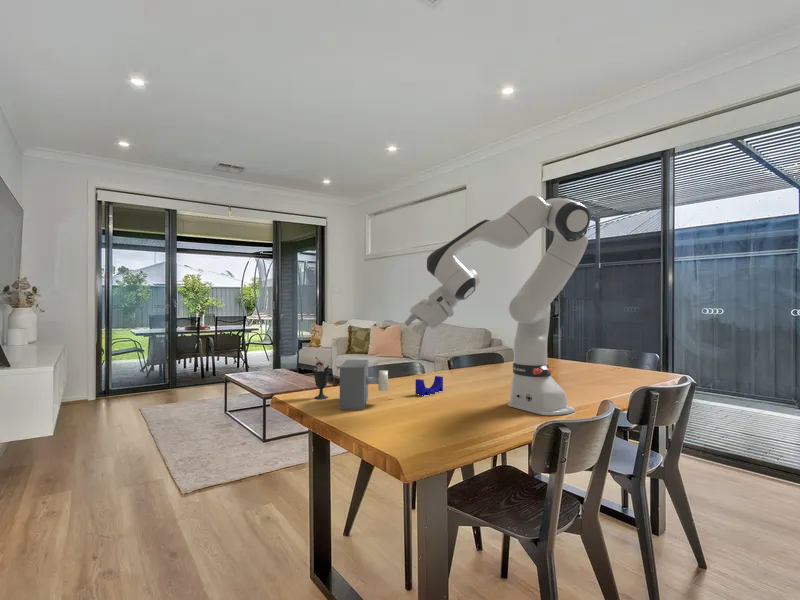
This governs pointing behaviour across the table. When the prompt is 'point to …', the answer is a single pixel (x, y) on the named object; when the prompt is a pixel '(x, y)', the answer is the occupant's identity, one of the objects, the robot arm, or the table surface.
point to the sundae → (321, 378)
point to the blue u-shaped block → (434, 388)
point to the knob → (379, 380)
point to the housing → (353, 385)
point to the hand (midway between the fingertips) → (409, 327)
